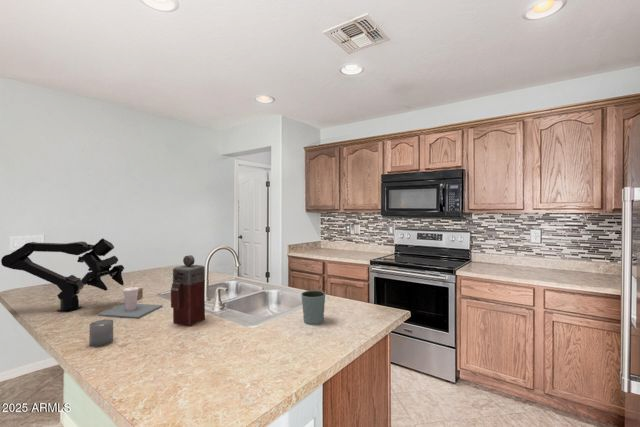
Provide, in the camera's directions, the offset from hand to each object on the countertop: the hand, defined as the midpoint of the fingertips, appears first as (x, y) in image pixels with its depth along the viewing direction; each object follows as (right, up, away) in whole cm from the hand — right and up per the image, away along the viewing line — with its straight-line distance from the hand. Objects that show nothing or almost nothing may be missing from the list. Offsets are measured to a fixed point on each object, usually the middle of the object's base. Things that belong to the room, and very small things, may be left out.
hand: (115, 287), depth 147 cm
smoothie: (+9, -10, -2) cm, 13 cm away
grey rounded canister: (+18, -12, -35) cm, 41 cm away
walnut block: (0, -10, +17) cm, 20 cm away
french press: (+40, -11, -15) cm, 44 cm away
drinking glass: (+93, -12, -13) cm, 95 cm away
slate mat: (+9, -11, -2) cm, 14 cm away
